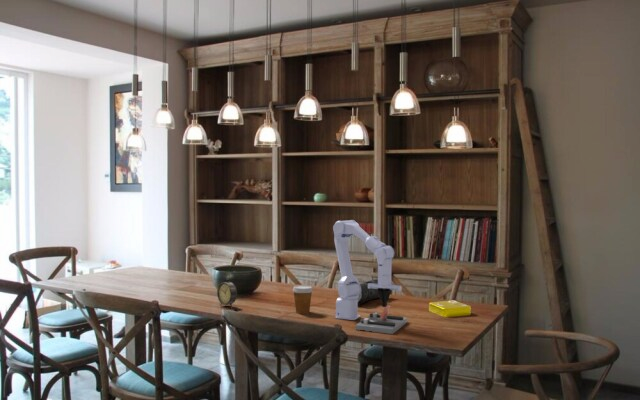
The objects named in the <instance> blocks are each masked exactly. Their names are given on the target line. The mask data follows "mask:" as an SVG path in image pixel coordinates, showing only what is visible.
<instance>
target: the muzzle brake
mask: <svg viewBox="0 0 640 400" xmlns="http://www.w3.org/2000/svg"><path fill="white" fill-rule="evenodd" d="M369 283H374V284H378V278H375V279H371V280H369V281H365V282H360V283H359V284H360V286H361V294H360V295H359V298H358V305H362V304H365V302H366V301H371V300H374V299H377V298H380V297H379V295H378V293H377V291H378V289H373V288H370V289H369V288H368V284H369Z"/></svg>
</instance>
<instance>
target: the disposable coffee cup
mask: <svg viewBox="0 0 640 400" xmlns="http://www.w3.org/2000/svg"><path fill="white" fill-rule="evenodd" d="M313 291H314V290H313V287H312V286H311V285H305V284H304V285H303V284H301V285H295V286H293V288H292V292H293V299H294V306H295V313H297V314H300V315H303V314H304V315H305V314H309V313H310V309H311V301H312V294H313Z"/></svg>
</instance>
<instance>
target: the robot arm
mask: <svg viewBox="0 0 640 400" xmlns="http://www.w3.org/2000/svg"><path fill="white" fill-rule="evenodd" d="M332 230H333V234H334V237H333V238H334V239H333V240H334V246H335V251H336V257H337V260H338V261H337V262H338V265H339V271H340V272H339V273H340V276H341V278H340V279H339V280H338V282H337V286H338V287H337V294H338V296H339V297H337V299H336V301H335V318H334V319H341V320H351V321H355V320H358V319H359V318H361V315H360V314H358V313H359V312H358V310H359V309H358V306H359V304H358V298H359V295H360V294H361V286H360V284H361V283H360V281H359V279H358V278H357V277H356V276H354V272H353V267H352V262H351V258H350V252H349V247H348V241H349V239H350V238H351V237H352V236H353V235H354V236H355V237H357V238H358V239H360V240H361V241H362V242H364V243H365V247H366V248H367V249H369V250H370V251H371V252H372V253H374V256H375V258H376V260H377V261H376V263H377V279H378V284H374V283H369V284H368V288H369V289H370V288H373V289H378V291H377V293H378V295H379V297H378V298H379V299H380V303H381V306H382V307H383V308H385V307H386V306H388V300H389V298H390V297H391V296H390V295H391V293H392V291H398V292H401V291H402V290H403V288H402V286H403V285H397V284H392V259H394V257H395V249H394V248H393V247H392V246H391V245H387V244H386V243H385V242H383V241H381V240H380V239H379V237H378V236H374V235H371V236H370V235H369V233H367V232H366V231H365V230H364V229H363V228H362V227H361V226H360V225H359V223H358V222H356V221H355V220H354V219H350V220H337V221H335V223H334V225H333V226H332Z"/></svg>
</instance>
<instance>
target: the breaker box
mask: <svg viewBox="0 0 640 400" xmlns="http://www.w3.org/2000/svg"><path fill="white" fill-rule="evenodd" d="M381 314H382V313H380V314H379V313H378V312H373V313H369V316H368V317H365V318H363V319H360V320H359V322H358V323H357V324H355V329H357V330H356V331H360V330H365V331H364V332H369V331H372V333H379V334H386V335H388V334H389V335H393V334H394V333H396V332H398V330H400V329H401V328H402V327H403V326H405V325H406V324H407V323H408V317H406V316H405V317H404V316H399V315H391V314H390V315H389V314H387V316H386V318H385V320H383V321H382V318H380V317H381Z"/></svg>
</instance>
